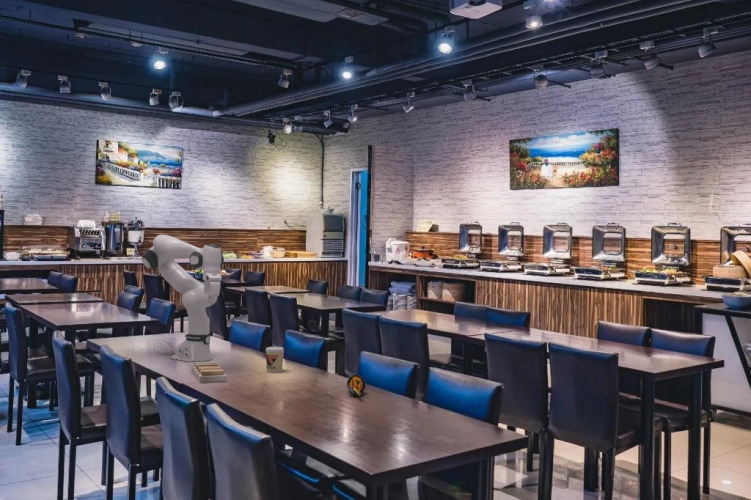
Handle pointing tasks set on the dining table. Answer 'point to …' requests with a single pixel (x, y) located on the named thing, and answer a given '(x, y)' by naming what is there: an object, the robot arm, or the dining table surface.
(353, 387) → the fried shrimp in bowl
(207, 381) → the floor base
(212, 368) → the plank
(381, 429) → the dining table surface
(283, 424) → the dining table surface
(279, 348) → the coffee cup
